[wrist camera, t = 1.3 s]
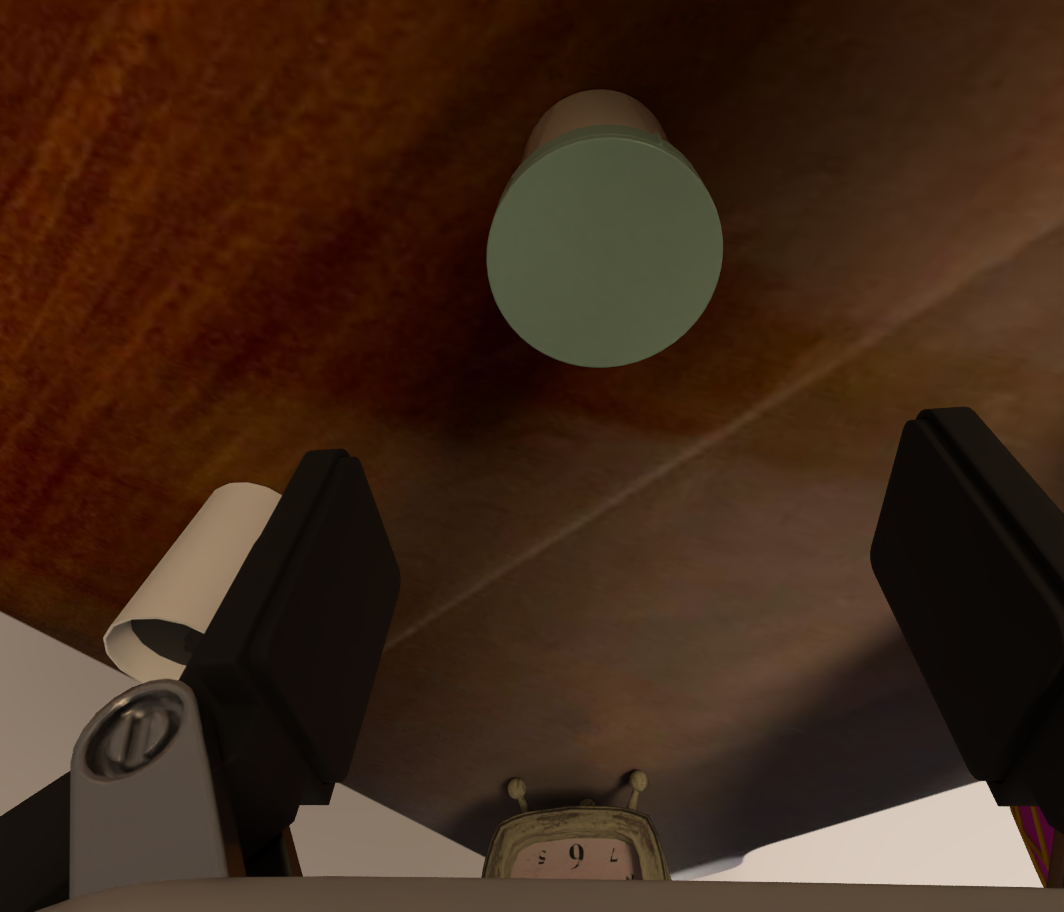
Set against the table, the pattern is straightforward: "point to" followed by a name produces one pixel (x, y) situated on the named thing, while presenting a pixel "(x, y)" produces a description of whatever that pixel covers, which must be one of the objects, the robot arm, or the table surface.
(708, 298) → the lid
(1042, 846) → the decorative egg
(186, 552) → the white cup
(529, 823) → the tabletop clock
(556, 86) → the table surface
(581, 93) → the jar
